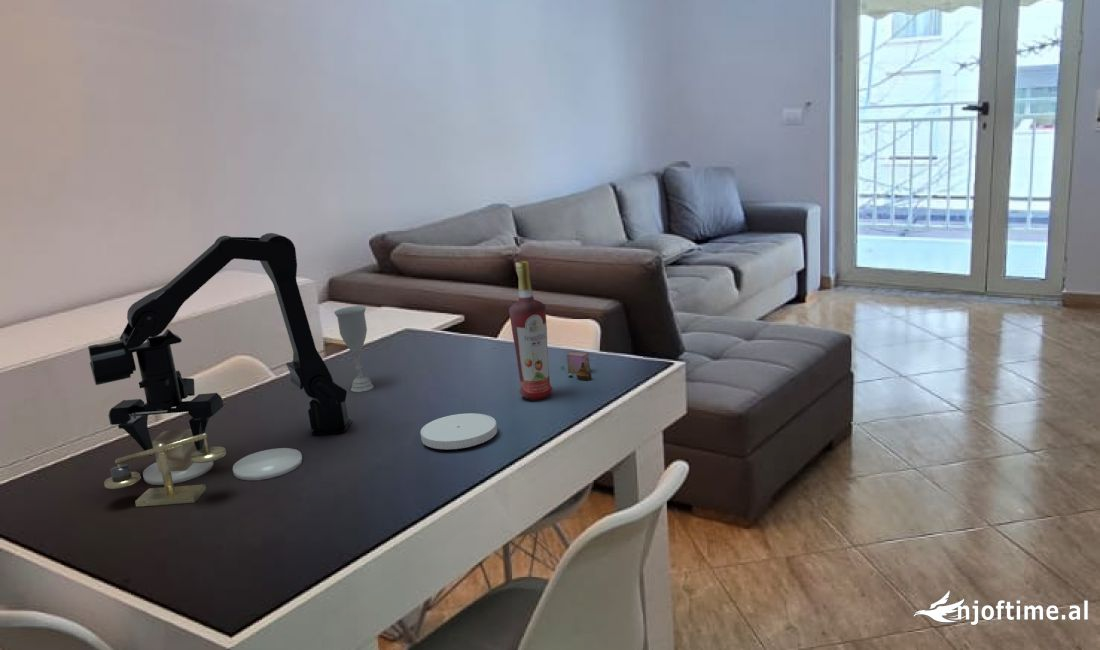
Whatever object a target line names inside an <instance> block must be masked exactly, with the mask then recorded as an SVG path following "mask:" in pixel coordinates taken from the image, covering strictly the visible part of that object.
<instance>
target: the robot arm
mask: <svg viewBox="0 0 1100 650" xmlns="http://www.w3.org/2000/svg"><path fill="white" fill-rule="evenodd" d="M233 260H247V261H259V262H260V264H261V266H262V269H263V270H264V271H265V273H266V274H267V276H268V278H269V280H270V281H271V283H272V285H273V288H274V291H275V295H276V297H277V302H278V304H279V307H280V308H279V309H280V312H281V314H282V318H283V321H284V325H285V328H286V332H287V335H288V337H289V339H288V340H289V342H290V345H291V348H292V352H293V353H292V358H293V359H292V361H289V362H286V363H285V365H286V367H287V368H288V371H289V373H290V382H291V383H292V384H294V385H295V386H296V387H297V388H298V389H299V390H301V392H302V393H304V394H305V395H307V396H308V397H309V398H310V399H311V401H310V402H309V409H307V413H308V418H309V424H310V425H309V426H310V429H311V430H312V431H311V433H310V434H311V436H321V435H332V434H333V435H334V434H344V433H345V432H346V431H347V429H348V427H349V426H350V425H351V423H352V418H350V419H349V416H348V409H347V408H348V407H347V401H346V400H347V399H346V398H347V394H348V391H347V389H345V388H344V387H342V386H340V385H339V384H338V383H336V382H335V381H334V380H333V379H334V378H333V376H332V374H331V373H330V370H329V369H328V367H327V364H326V363H325V361H324V360H323V358H322V356H321V355H320V353H319V351H318V350H317V347H316V344H315V341H314V336H313V334H312V329H311V326H310V323H309V320H308V317H307V314H306V313H307V312H306V310H305V306H304V302H303V298H302V296H301V293H300V288H299V284H298V282H297V273H298V272H297V271H298V260H297V253H296V246H295V244H294V243H293V241H292V240H291V239H289V237H286V236H284V235H280V234H278V233H274V232H268V233H265V234H262V236H260V237H252V236H243V237H242V236H230V235H221V236H218V237H217V238H216V240H215V241H214V243H213V244H211V246H209V247H208V248H207V249H206V250H204V252H203V253H202V254H200V255H199V256H198V257H197V258H195V259H194V260H193V261H192V262H191V263H190V264H188V266H186V267H185V268H184V269H183V270H182V271H181V272H179V274H177V275H176V276H175V277H174V278H173V279H171V280H170V281H169V282H168V283H167V284H166V285H164V286H162V287H161V288H159V289H157V290H155V291H152V292H150V293H148V294H147V295H145V296H143V297H142V298H140V299H138V300H137V301H136V302H133V303H132V304H131V305H130V306H129V307H128V309H127V313H126V317H127V318H126V320H127V324H126V325H125V328H124V329H123V330H122V333H121V334H120V337H119V340H117V341H113V342H112V341H111V342H107V343H101V344H92V345H88V347H87V349H88V354H89V359H90V362H89V366H90V369H91V373H92V378H93V381H94V383H95V384H94V385H95V386H100V385H103V384H107V383H111V382H112V383H113V382H117V381H122V380H126V379H130V378H132V377H131V376H132V375H134V372H136V370H137V369H136V363H135V359H134V358H135V357H134V354H133V353H135V355H136V359H137V363H138V369H139V372H140V377H141V378H140V379H141V380H140V381H139V382H138V386H139V389H143V390H144V395H145V400H146V402H145V401H144V400H142V399H141V398H136V399H127V400H126V399H124V400H123V399H122V401H120V402H119V403H117V404H116V405H114V406H113V407H111V408H110V410H109V412H108V420H109V424H110V425H111V426H114V425H115V426H116V425H117V427H118V429H123V431H125V432H126V433H127V434H128V435H130V436H131V438H133V440H134V441H136V442H137V444H138V446H140V447H141V448H142V449H143V451H145V450H149V449H152V448H154V447H153V443H152V438H151V435H150V431H149V427H148V420H149V419H148V418H149V416H151V415H164V414H176V413H177V414H178V413H188V415H189V416H190V417H192V418H191V419H189V420H188V423H189V426H190V429H191V431H192V436H197V435H200V434H203V433H206V430H207V426H208V422H209V420H210V418H212V417H213V416H215V414H216V413H218V412H219V411H220V410H221V409H222V408H223V407H224V403H223V398H222V397H221V395H220V394H219V393H217V392H213V393H212V392H210V393H198V395H196V394H195V392H196V390H195V378H190V377H182V374H181V371H180V370H177V369H176V367H175V362H174V357H173V351H172V347H171V345H176V344H180V343H182V338H181V337H179V335H177V334H175V333H173V332H172V331H171V330H170V329H169V328H167V327H168V326H169V325H170V324H171V322H172V321H173V320H174V319H175V317H176V315H177V314H178V312H179V310H180V309H181V307H182V306H183V304H184V303H185V302H186V301H188V299H190V298H191V297H192V296H193V295H194V294H195V293H196V292H197V291H199V290H200V289H201V288H202V287H203V286H205V284H207V283H208V282H209V281H210V280H211V279H212V278H214V276H216V275H217V274H218V273H219V272H220V271H221V270H222V269H223V268H224V267H226V266H227V265H228V264H229V263H230V262H231V261H233ZM163 332H164V333H163ZM195 395H196V396H195ZM194 396H195V397H194ZM188 397H194V398H192V399H191V400H185V399H188ZM184 400H185V401H184ZM204 444H205V443H204V439H202V440H199V441H195V442H194V445H195V449H196V451H198V450H201V449H204V448H203V447H204ZM152 455H153V454H151V455H148V457H151V456H152Z"/></svg>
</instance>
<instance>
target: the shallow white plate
mask: <svg viewBox="0 0 1100 650" xmlns="http://www.w3.org/2000/svg"><path fill="white" fill-rule="evenodd" d="M302 463H303V456H302V453H301V452H300V450H297V449H295V448H288V447H281V448H271V449H270V448H269V449H266V450H264V449H263V450H261V451H257V452H254V453H250V454H248V455H246V456H244V457H242V458H240V459H239V460H237V461H236V462H235V463H234V464H233V466H232V472H233V476H234V477H235V478H236V479H239V480H241V481H250V482H251V481H261V480H262V481H263V480H264V481H265V480H269V479H273V478H276V477H280V476H281V477H282V476H283V475H286V474H289V473H290V472H292V471H294V470H295V469H297V468H299V466H301V465H302Z"/></svg>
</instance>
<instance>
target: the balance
mask: <svg viewBox="0 0 1100 650" xmlns="http://www.w3.org/2000/svg"><path fill="white" fill-rule="evenodd" d="M192 436H193V435H192ZM207 438H208V434H207V433H206V432H205V433H203V434H200V435H197V436H193V437H190V438H186V439H183V440H180V441H176V442H173V443H169V444H164V443H158V444H157V445H156V446H155V448H154V447H153V448H152V449H149V450H145V451H144V450H143V451H139V452H136V453H133V454H129V455H125V456H123V457H122V456H121V457H118V458H116V459H115V461H114V463H115V464H116V465H115V466H112V467H110V469H109V472H110V475H111V476H110V477H108V478H106V479H105V481H104V482H103V484H104V488H106V489H109V490H117V489H122V488H126V487H129V486H132V485H134V484H136V483H137V482H139V481H140V480H141V478H142V477H141V474H140V473H139V472H138V471H131V466H130V464H128V462H130V461H133V460H137V459H140V458H143V457H147V456H148V457H149V455H151V454H152V455H153V454H154V455H155V453H157V454H158V459H159V463H160V468H161V472H162V477H163V482H164V485H163V487H152V488H147V490H146V491H144V493H142V494H141V495H140V496H139V497H138V498H137V499H135V507H147V506H148V507H150V506H165V505H181V504H192V503H193V504H194V503H195V502H196V501H197V500H198V499H199V498H200V497H201V496H202V495H203V494H204V493H205V492H206V491H207V487H206V484H191V485H181V486H180V485H179V486H174V484H173V480H172V476H171V471H170V466H169V462H168V457H167V450H168V449H171V448H175V447H178V446H182V445H185V444H189V443H192V442H194V443H195V441H199V440H202V439H204V443H203V444H204V448H203V449H201V450H198V451H197V450H196V452H194V453H193V454H192V455H191V456H190V458H191V462H193V463H207V462H211V461H213V462H214V461H217V460H219V459H221V458H223V457H225V456H226V454H227V451H226V448H225V447H223V446H208V440H207ZM152 455H151V456H152ZM126 462H127V463H126Z"/></svg>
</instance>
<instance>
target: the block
mask: <svg viewBox="0 0 1100 650" xmlns="http://www.w3.org/2000/svg"><path fill="white" fill-rule="evenodd" d="M190 437H193V435H192V431H191V428H187V429H186V428H185V429H173V430H163V432H161V433H160V434H159V435H158V436H157V437H156V438H154V439H153V440H151V442H152V446H153V448H155V446H156V445H157V444H158V443H164V444H169V443H173V442H176V441H180V440H183V439H186V438H190ZM196 451H197V449H196V446H195V442H192V443H189V444H185V445H182V446H178V447H175V448H171V449H168V450H167V457H168V462H169V466H170V471H184V470H187V469H188V468H189V467H190V466H191V465H192V464H193V462H191V458H190V456H191V455H192V454H193V453H194V452H196ZM154 455H155V462H157V466H158V470H159V472H161V468H160V463H159V459H158V454H157V453H154Z"/></svg>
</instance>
